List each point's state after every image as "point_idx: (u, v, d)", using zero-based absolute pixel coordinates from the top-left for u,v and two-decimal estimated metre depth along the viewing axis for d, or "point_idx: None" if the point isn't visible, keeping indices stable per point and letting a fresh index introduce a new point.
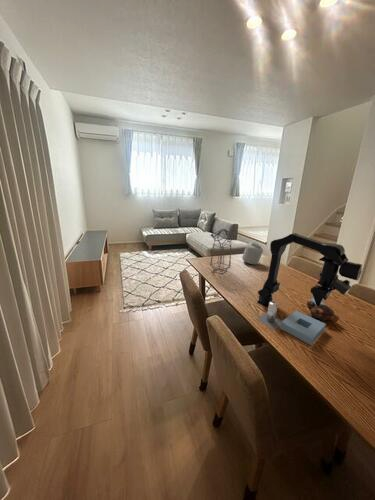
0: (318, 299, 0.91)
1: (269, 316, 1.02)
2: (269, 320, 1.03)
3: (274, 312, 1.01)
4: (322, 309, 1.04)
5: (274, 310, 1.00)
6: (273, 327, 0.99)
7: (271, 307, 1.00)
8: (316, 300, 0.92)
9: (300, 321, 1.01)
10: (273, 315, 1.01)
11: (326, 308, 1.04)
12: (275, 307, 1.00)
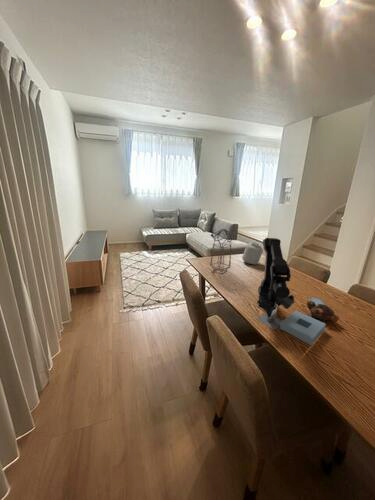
0: None
1: None
2: (269, 320, 1.03)
3: (274, 312, 1.01)
4: (322, 309, 1.04)
5: (274, 310, 1.00)
6: (273, 327, 0.99)
7: None
8: (267, 312, 1.01)
9: (300, 321, 1.01)
10: (273, 315, 1.01)
11: (326, 308, 1.04)
12: None
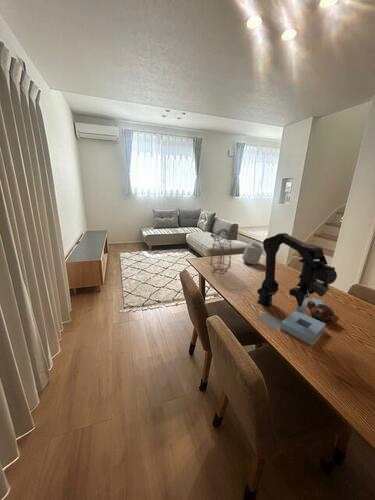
0: (300, 300, 0.92)
1: None
2: (300, 310, 0.95)
3: (305, 301, 0.93)
4: (322, 309, 1.04)
5: (306, 299, 0.92)
6: (273, 327, 0.99)
7: None
8: (298, 301, 0.93)
9: (300, 321, 1.01)
10: (304, 304, 0.93)
11: (326, 308, 1.04)
12: None
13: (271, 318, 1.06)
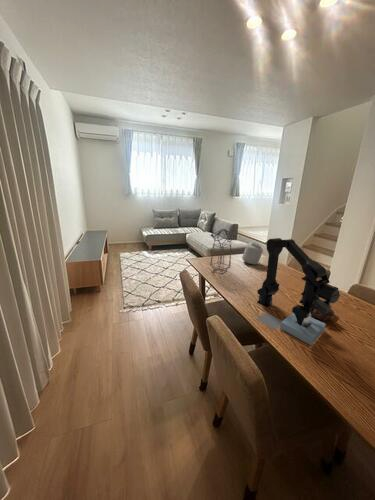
0: (300, 318, 0.93)
1: None
2: None
3: (307, 321, 0.95)
4: None
5: (307, 319, 0.95)
6: (273, 327, 0.99)
7: None
8: (298, 319, 0.93)
9: None
10: (306, 324, 0.95)
11: None
12: (308, 316, 0.94)
13: (271, 318, 1.06)
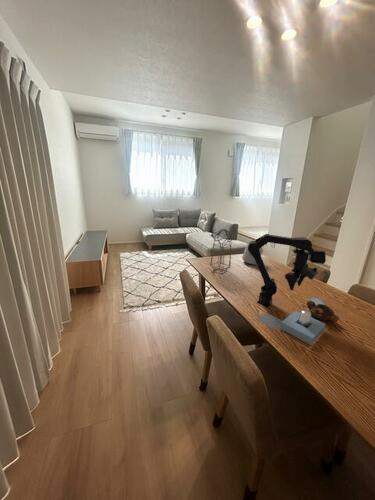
0: (291, 284, 1.08)
1: None
2: None
3: (307, 321, 0.95)
4: (322, 309, 1.04)
5: (307, 319, 0.95)
6: (273, 327, 0.99)
7: (304, 317, 0.95)
8: (290, 285, 1.09)
9: None
10: (306, 324, 0.95)
11: (326, 308, 1.04)
12: (308, 316, 0.94)
13: (271, 318, 1.06)
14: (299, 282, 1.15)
